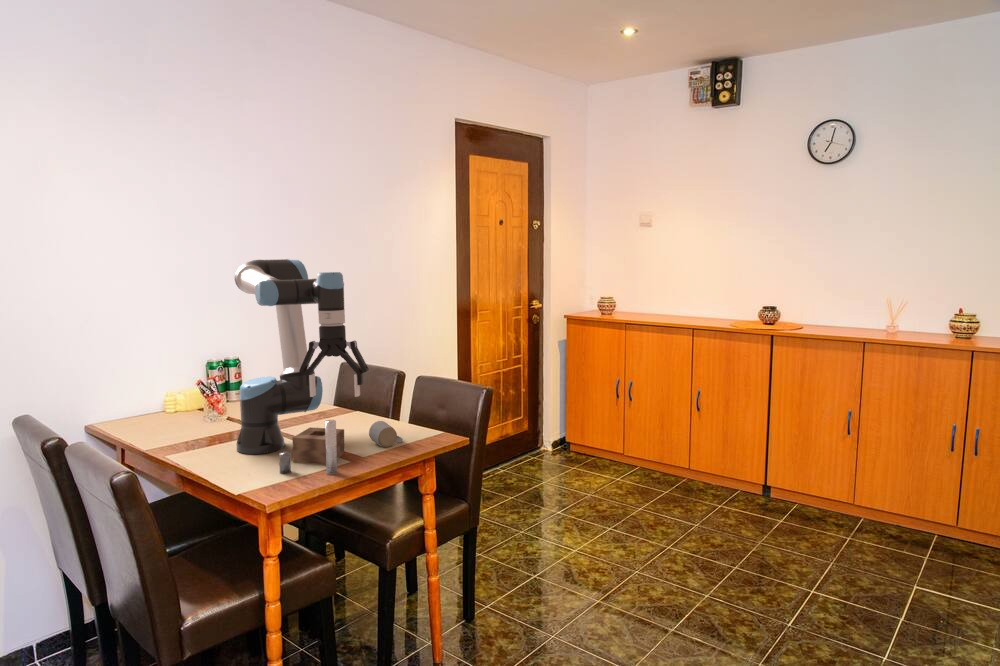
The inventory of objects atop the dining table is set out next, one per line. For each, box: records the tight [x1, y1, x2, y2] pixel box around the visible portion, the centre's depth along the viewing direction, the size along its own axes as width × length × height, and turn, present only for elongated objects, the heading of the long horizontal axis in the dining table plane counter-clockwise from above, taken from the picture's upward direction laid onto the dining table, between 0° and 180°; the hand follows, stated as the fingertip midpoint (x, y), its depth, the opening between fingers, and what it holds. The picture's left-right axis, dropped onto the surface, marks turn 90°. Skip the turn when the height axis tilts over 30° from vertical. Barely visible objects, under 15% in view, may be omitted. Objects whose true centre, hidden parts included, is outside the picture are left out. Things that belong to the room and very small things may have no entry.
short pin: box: [278, 450, 292, 475], centre depth 201 cm, size 3×3×6 cm
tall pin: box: [324, 419, 338, 476], centre depth 200 cm, size 3×3×16 cm
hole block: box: [292, 427, 346, 465], centre depth 215 cm, size 12×12×8 cm
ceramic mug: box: [368, 420, 404, 448], centre depth 230 cm, size 11×8×8 cm
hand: (335, 396), depth 199 cm, fingers open, 13 cm apart
